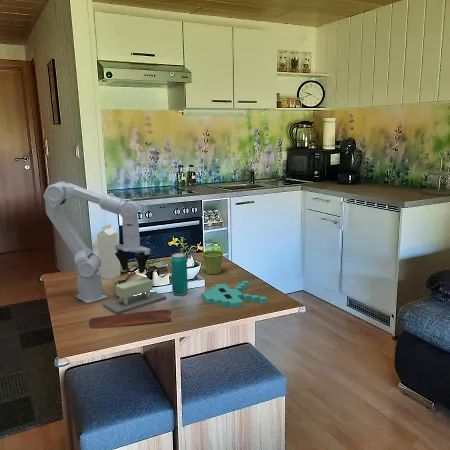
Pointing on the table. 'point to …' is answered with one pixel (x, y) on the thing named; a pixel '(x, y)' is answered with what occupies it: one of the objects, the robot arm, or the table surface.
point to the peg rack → (133, 302)
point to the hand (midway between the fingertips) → (133, 271)
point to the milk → (108, 252)
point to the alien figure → (230, 295)
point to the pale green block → (133, 287)
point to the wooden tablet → (130, 319)
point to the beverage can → (179, 274)
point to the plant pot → (213, 261)
